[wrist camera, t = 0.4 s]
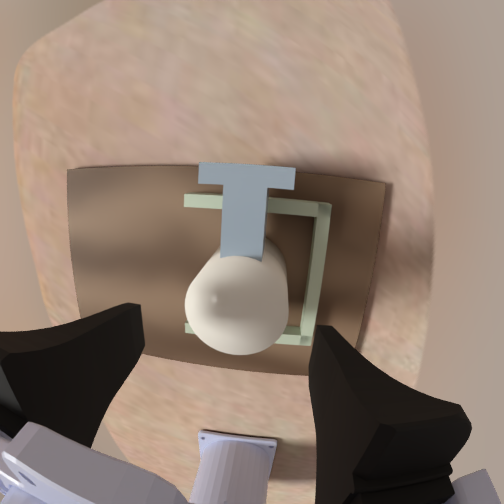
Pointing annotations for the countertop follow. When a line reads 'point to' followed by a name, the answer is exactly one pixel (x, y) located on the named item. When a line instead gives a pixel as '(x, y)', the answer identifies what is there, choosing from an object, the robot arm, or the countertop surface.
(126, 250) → the board
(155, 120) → the countertop surface
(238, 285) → the white blue t-bar grip
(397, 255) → the countertop surface
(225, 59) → the countertop surface
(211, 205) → the cradle
